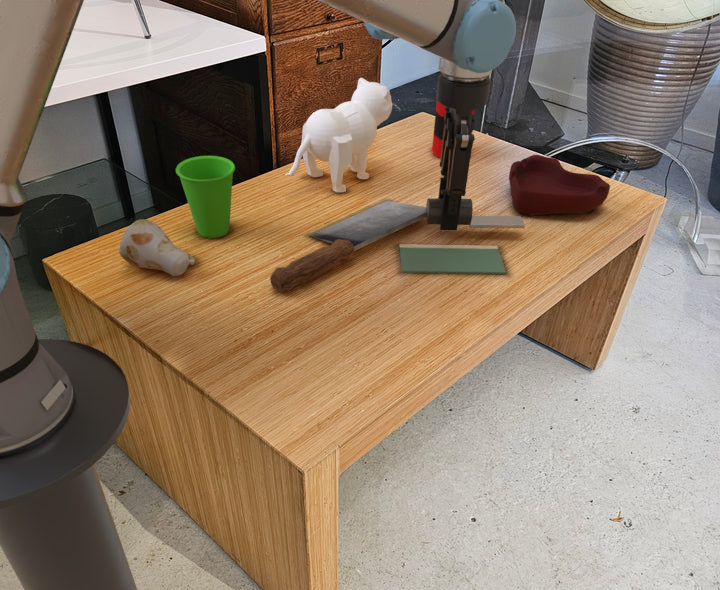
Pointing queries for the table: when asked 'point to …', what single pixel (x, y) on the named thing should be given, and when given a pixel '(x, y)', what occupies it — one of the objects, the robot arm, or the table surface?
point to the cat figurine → (344, 133)
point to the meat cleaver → (347, 241)
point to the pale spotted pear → (153, 249)
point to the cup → (208, 192)
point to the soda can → (439, 129)
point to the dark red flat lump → (553, 188)
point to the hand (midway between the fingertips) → (446, 221)
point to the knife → (470, 216)
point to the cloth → (451, 259)
